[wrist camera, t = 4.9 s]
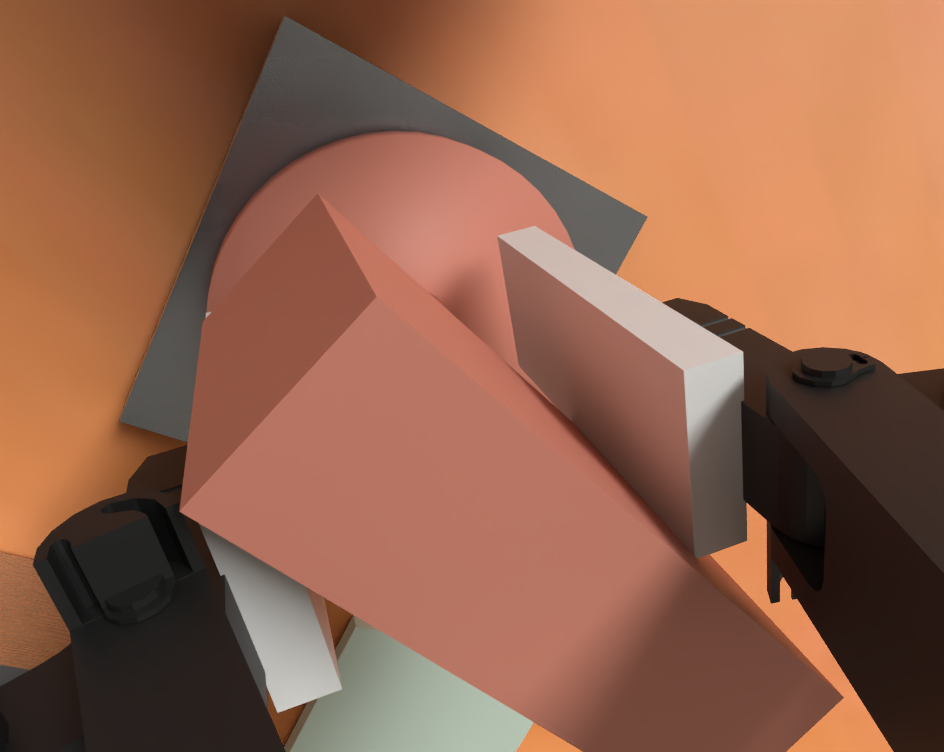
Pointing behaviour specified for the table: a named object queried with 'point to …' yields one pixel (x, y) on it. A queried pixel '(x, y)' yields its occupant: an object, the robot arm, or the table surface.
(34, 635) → the block
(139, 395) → the wheel base
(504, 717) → the mat
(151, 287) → the table surface
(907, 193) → the table surface
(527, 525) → the pink block-head stand
